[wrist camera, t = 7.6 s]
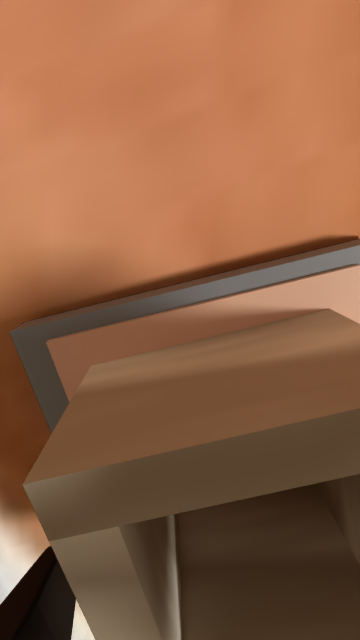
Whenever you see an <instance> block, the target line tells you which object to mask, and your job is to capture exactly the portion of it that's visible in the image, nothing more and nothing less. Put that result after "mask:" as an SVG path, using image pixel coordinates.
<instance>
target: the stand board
mask: <svg viewBox="0 0 360 640" xmlns="http://www.w3.org/2000/svg"><path fill="white" fill-rule="evenodd" d="M329 308H330V309H332V310H334V311H335V312H337V313H339V314H341V315H343V316H345V317H347V318H349V319H351V320H353V321H355V322H357V323H359V324H360V239H357V240H353V241H349V242H345V243H341V244H337V245H333V246H329V247H325V248H321V249H317V250H313V251H309V252H305V253H301V254H297V255H293V256H289V257H284V258H280V259H276V260H272V261H268V262H264V263H260V264H256V265H252V266H248V267H244V268H240V269H236V270H232V271H228V272H224V273H220V274H216V275H212V276H208V277H204V278H200V279H196V280H192V281H188V282H184V283H180V284H176V285H172V286H168V287H164V288H160V289H156V290H152V291H148V292H144V293H140V294H136V295H132V296H128V297H124V298H120V299H116V300H111V301H107V302H103V303H99V304H95V305H91V306H87V307H83V308H79V309H75V310H71V311H67V312H63V313H59V314H55V315H51V316H47V317H43V318H39V319H35V320H31V321H27V322H24V323H22V324H21V325H19V326H18V327H16V328H15V329H13V330H12V331H10V332H9V333H10V335H11V338H12V340H13V343H14V345H15V347H16V350H17V352H18V355H19V357H20V359H21V362H22V364H23V367H24V369H25V371H26V374H27V376H28V378H29V381H30V383H31V386H32V388H33V390H34V393H35V395H36V398H37V400H38V402H39V405H40V407H41V410H42V412H43V414H44V417H45V419H46V422H47V424H48V426H49V429H50V431H51V434H52V432H53V431H54V429H55V427H56V425H57V424H58V422H59V420H60V418H61V417H62V415H63V413H64V412H65V410H66V408H67V406H68V405H69V403H70V401H71V399H72V398H73V396H74V394H75V393H76V391H77V389H78V387H79V386H80V384H81V382H82V380H83V379H84V377H85V375H86V374H87V372H88V370H89V368H90V367H91V366H92V365H96V364H100V363H105V362H109V361H113V360H117V359H121V358H125V357H130V356H134V355H138V354H142V353H146V352H150V351H155V350H159V349H163V348H167V347H171V346H175V345H180V344H184V343H188V342H192V341H196V340H200V339H204V338H209V337H213V336H217V335H221V334H225V333H229V332H234V331H238V330H242V329H246V328H250V327H254V326H259V325H263V324H267V323H271V322H275V321H279V320H283V319H288V318H292V317H296V316H300V315H304V314H308V313H313V312H317V311H321V310H325V309H329Z"/></svg>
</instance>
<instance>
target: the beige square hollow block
mask: <svg viewBox="0 0 360 640" xmlns="http://www.w3.org/2000/svg"><path fill="white" fill-rule="evenodd" d="M22 485H23V487H24V489H25V492H26V494H27V496H28V498H29V500H30V502H31V504H32V506H33V508H34V511H35V513H36V515H37V517H38V519H39V521H40V523H41V525H42V528H43V530H44V532H45V534H46V536H47V538H48V540H49V542H50V544H51V547H52V549H53V551H54V553H55V555H56V557H57V559H58V561H59V564H60V566H61V568H62V570H63V572H64V574H65V576H66V578H67V580H68V583H69V585H70V587H71V589H72V591H73V593H74V595H75V597H76V600H77V602H78V604H79V606H80V608H81V610H82V612H83V614H84V616H85V619H86V621H87V623H88V625H89V627H90V629H91V631H92V633H93V635H94V638H95V640H360V324H359V323H357V322H355V321H353V320H351V319H349V318H347V317H345V316H343V315H341V314H339V313H337V312H335V311H334V310H332V309H330V308H329V309H325V310H321V311H317V312H313V313H308V314H304V315H300V316H296V317H292V318H288V319H283V320H279V321H275V322H271V323H267V324H263V325H259V326H254V327H250V328H246V329H242V330H238V331H234V332H229V333H225V334H221V335H217V336H213V337H209V338H204V339H200V340H196V341H192V342H188V343H184V344H180V345H175V346H171V347H167V348H163V349H159V350H155V351H150V352H146V353H142V354H138V355H134V356H130V357H125V358H121V359H117V360H113V361H109V362H105V363H100V364H96V365H92V366H91V367H90V368H89V370H88V372H87V374H86V375H85V377H84V379H83V380H82V382H81V384H80V386H79V387H78V389H77V391H76V393H75V394H74V396H73V398H72V399H71V401H70V403H69V405H68V406H67V408H66V410H65V412H64V413H63V415H62V417H61V418H60V420H59V422H58V424H57V425H56V427H55V429H54V431H53V432H52V434H51V436H50V437H49V439H48V441H47V443H46V444H45V446H44V448H43V450H42V451H41V453H40V455H39V456H38V458H37V460H36V462H35V463H34V465H33V467H32V469H31V470H30V472H29V474H28V475H27V477H26V479H25V481H24V482H23V484H22Z"/></svg>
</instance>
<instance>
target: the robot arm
mask: <svg viewBox="0 0 360 640" xmlns="http://www.w3.org/2000/svg"><path fill="white" fill-rule="evenodd" d="M75 602H76V597H75V595H74V593H73V591H72V589H71V587H70V585H69V583H68V580H67V578H66V576H65V574H64V572H63V570H62V568H61V566H60V564H59V561H58V559H57V557H56V555H55V553H54V551H53V549H52V547H51V546H49V547H48V548H47V549H46V550H45V551H44V552H43V553H42V554H41V556H40V557H39V558H38V559H37V561H36V562H35V563H34V564H33V565H32V567H31V568H30V569H29V570H28V572H27V573H26V574H25V575H24V576H23V578H22V579H21V580H20V581H19V583H18V584H17V585H16V586H15V587H14V589H13V590H12V591H11V592H10V594H9V595H8V596H7V597H6V598H5V600H4V601H3V602H2V603H1V605H0V640H71V635H72V627H73V619H74V611H75Z"/></svg>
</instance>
